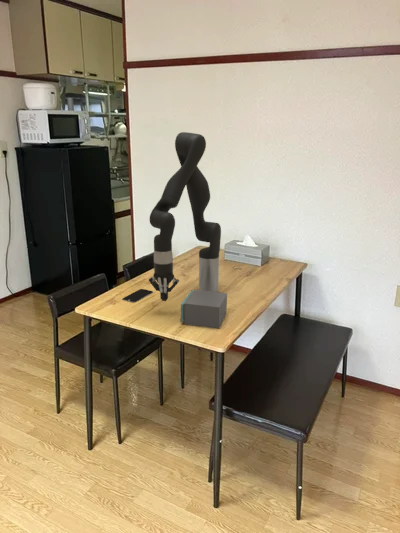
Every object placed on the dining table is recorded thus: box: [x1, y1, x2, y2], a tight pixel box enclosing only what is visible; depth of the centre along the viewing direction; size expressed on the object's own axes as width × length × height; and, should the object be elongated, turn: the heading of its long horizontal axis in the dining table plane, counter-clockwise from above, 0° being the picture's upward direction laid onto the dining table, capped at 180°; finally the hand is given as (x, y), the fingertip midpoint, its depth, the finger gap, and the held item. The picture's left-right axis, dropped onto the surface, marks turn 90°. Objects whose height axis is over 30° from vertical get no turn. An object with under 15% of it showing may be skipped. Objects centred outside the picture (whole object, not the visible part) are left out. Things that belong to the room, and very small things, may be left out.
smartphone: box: [121, 288, 154, 304], centre depth 198 cm, size 8×1×15 cm
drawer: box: [180, 289, 195, 323], centre depth 174 cm, size 15×14×7 cm
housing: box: [183, 289, 228, 329], centre depth 174 cm, size 15×14×9 cm
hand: (164, 300), depth 178 cm, fingers closed
